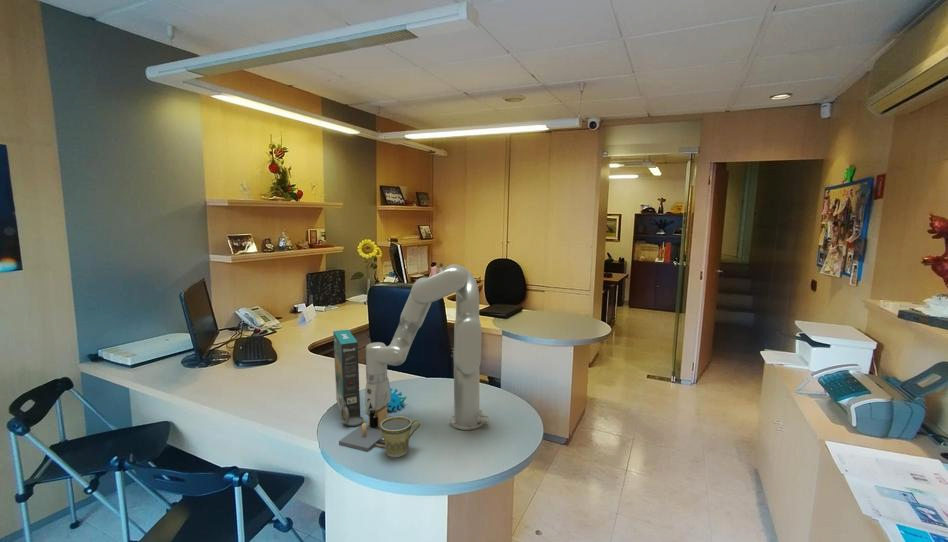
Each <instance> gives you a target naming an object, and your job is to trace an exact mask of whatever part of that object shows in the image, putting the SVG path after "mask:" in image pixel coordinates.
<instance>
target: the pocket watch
mask: <svg viewBox="0 0 948 542" xmlns="http://www.w3.org/2000/svg"><path fill="white" fill-rule="evenodd" d="M343 402H344V406H342V407H341V411H340V416H341V420H342V423H343V424H344V425H346V426H349V427H356V426H357V427H358V426H361V425H362V423H365V422H364V421H365V418H364V417H361V416H360V417H351V418H349V412H348V409H347V407H346V402H345V401H344V400H343ZM344 413H345V414H344Z"/></svg>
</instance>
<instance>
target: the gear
mask: <svg viewBox="0 0 948 542" xmlns="http://www.w3.org/2000/svg"><path fill="white" fill-rule="evenodd" d="M398 391H399V390H398V388H395V389H394V392H393V388H391V387H390V394H391V400H390V402H389V403H388V405H387V412H392V410H393V412H394V413H396V412H398V410H399V411H401V410H403V406H405V400H406V399H407V398H408V397H407V395H404V396H402V395H403V392H402V391H400V392H399V393H398ZM388 407H389V408H388ZM393 408H394V409H393Z"/></svg>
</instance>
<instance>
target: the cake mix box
mask: <svg viewBox="0 0 948 542" xmlns="http://www.w3.org/2000/svg"><path fill="white" fill-rule="evenodd" d="M358 345H359V344H358V341H357V339H356V338H355V337H354V335H353V334H352V333H351V331H350V329H341V330H333V349H334V350H333V351H334V352H333V353H334V355H333V356H334V375H335V377H334V379H335V380H334V381H335V397H336V398H335V399H336V402H337V405H338V407H339V410H340V412H341V407H342V406H344V402H343V400H344V401H345V402H346V407H347V409H348V412H349V418H351V417H361V405H360V404H361V401H360V399H361V397H360V393H361V392H360V370H359V368H360V367H359V365H360V364H359V346H358ZM344 414H345V413H344Z"/></svg>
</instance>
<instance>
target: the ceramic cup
mask: <svg viewBox="0 0 948 542" xmlns="http://www.w3.org/2000/svg"><path fill="white" fill-rule="evenodd" d="M415 424H418V426H417V427H416V428H415V429H414V430H413V431H412V432H411V430H412V428H413V426H414V425H415ZM420 427H421V423H420V422H419V421H418V420H414V421H412V420H411V419H410V418H409V417H407V416H402V415H400V416H398V415H397V416H391V417H387V419H385V420H384V421H382V422H381V428H380V430H381V431H382V435H383V438H384V441H383V442H384V443H385V444H384V445H385V448H384V449H385V452H386V455H387V456H388V457H390V458H395V459H396V458H399V457H403V456H405V454H407V453H408V449H409V444H410V442H409V441H410V439H411V437H412V436H413V435H414V434H415V433H416V432H417V431H418V429H420Z"/></svg>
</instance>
